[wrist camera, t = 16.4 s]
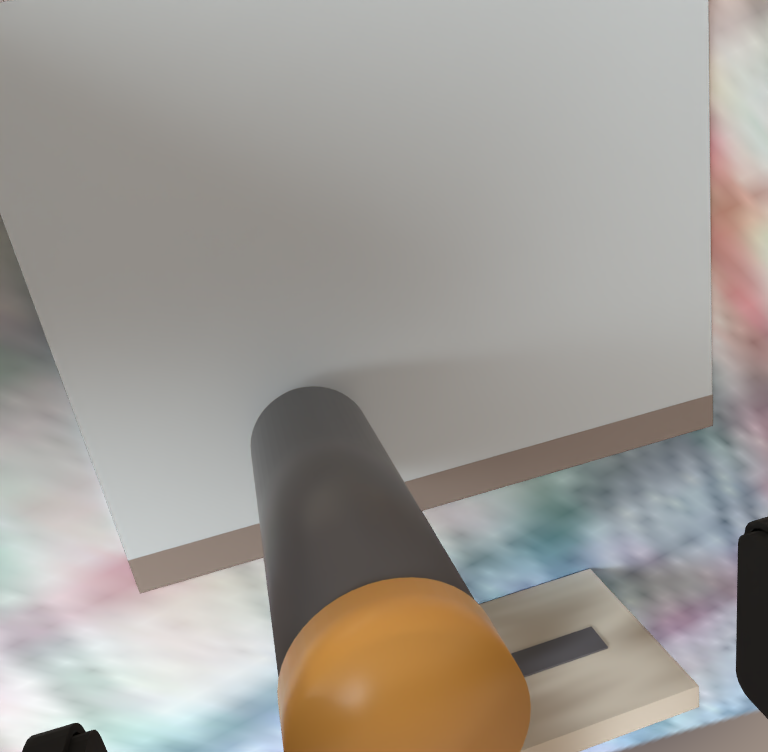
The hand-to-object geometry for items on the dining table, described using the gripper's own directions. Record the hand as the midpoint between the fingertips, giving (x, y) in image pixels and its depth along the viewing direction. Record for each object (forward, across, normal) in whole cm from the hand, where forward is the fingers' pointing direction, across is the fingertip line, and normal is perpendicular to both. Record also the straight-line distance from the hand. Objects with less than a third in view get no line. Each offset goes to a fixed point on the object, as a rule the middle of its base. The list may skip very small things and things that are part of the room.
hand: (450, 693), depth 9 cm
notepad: (+12, -3, -4) cm, 13 cm away
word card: (+12, -3, +10) cm, 16 cm away
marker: (+12, +1, +1) cm, 12 cm away
